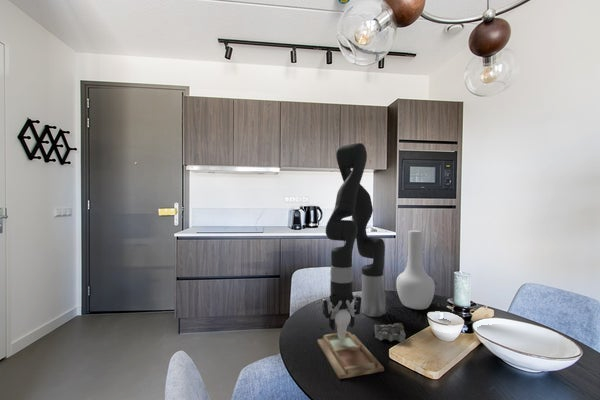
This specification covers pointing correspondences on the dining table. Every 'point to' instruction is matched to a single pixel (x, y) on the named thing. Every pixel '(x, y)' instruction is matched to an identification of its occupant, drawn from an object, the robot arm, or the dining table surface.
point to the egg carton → (383, 331)
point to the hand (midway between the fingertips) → (341, 327)
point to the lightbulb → (342, 322)
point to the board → (348, 356)
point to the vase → (415, 277)
